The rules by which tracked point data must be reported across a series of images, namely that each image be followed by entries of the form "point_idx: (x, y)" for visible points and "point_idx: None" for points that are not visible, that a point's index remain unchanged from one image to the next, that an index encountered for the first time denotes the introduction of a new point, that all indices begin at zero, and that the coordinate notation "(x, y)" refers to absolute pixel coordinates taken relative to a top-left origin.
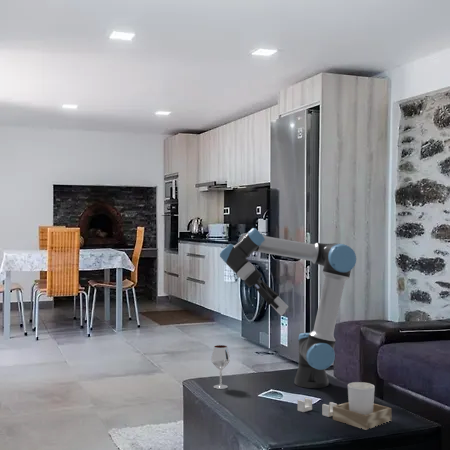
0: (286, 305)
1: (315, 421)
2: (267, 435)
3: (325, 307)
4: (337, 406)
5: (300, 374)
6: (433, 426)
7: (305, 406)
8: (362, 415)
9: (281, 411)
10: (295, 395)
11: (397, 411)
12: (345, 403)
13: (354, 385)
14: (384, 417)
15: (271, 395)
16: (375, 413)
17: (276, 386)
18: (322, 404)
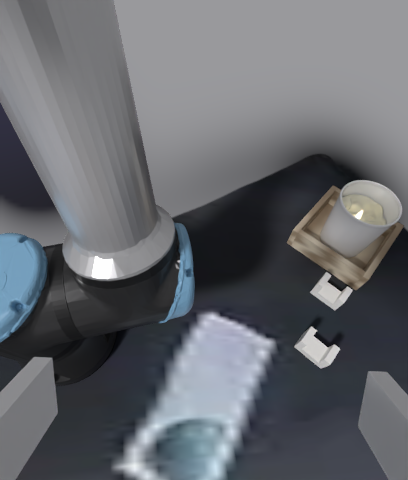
0: (35, 381)
1: (384, 325)
2: None
3: (125, 115)
4: (363, 270)
5: (80, 361)
6: (326, 156)
7: (316, 346)
8: (400, 230)
9: (343, 413)
10: (188, 378)
11: (265, 187)
12: (335, 254)
13: (346, 216)
14: None
15: (196, 459)
16: None
17: (90, 449)
18: (344, 302)
